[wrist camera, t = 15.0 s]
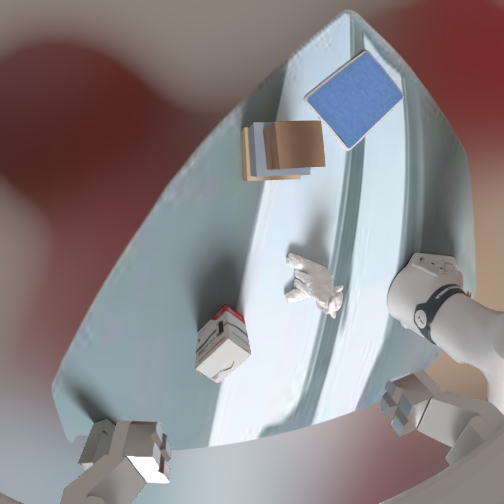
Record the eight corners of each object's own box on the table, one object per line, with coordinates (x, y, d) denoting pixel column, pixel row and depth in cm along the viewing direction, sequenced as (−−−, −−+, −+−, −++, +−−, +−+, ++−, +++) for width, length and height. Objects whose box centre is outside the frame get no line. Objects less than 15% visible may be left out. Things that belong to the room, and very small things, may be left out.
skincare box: (128, 434, 59) (119, 480, 44) (112, 439, 59) (102, 482, 44) (106, 416, 57) (92, 462, 42) (90, 422, 57) (76, 465, 42)
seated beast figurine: (285, 251, 51) (306, 274, 39) (330, 250, 52) (360, 271, 40) (282, 300, 53) (301, 333, 42) (325, 296, 55) (351, 326, 43)
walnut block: (301, 129, 34) (320, 120, 27) (304, 166, 35) (325, 166, 29) (262, 131, 33) (274, 121, 27) (266, 169, 35) (279, 169, 28)
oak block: (287, 132, 45) (298, 127, 39) (289, 177, 47) (300, 178, 42) (240, 132, 44) (244, 127, 38) (243, 179, 46) (247, 181, 41)
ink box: (225, 302, 52) (229, 337, 41) (244, 317, 53) (253, 354, 42) (195, 332, 53) (193, 370, 42) (215, 346, 54) (217, 385, 43)
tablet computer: (345, 153, 48) (349, 152, 47) (300, 100, 44) (302, 98, 43) (402, 98, 46) (406, 97, 45) (363, 50, 42) (367, 48, 41)
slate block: (294, 128, 39) (307, 122, 34) (297, 173, 41) (310, 174, 36) (247, 129, 39) (253, 122, 33) (250, 176, 41) (256, 176, 35)
